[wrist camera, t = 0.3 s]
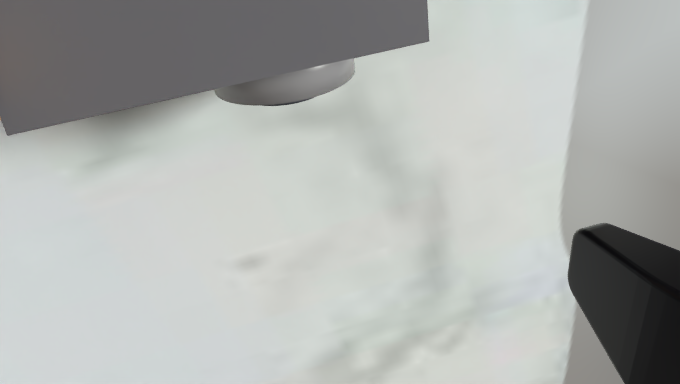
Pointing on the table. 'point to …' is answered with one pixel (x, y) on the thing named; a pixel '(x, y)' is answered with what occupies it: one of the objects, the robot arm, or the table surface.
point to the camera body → (185, 51)
